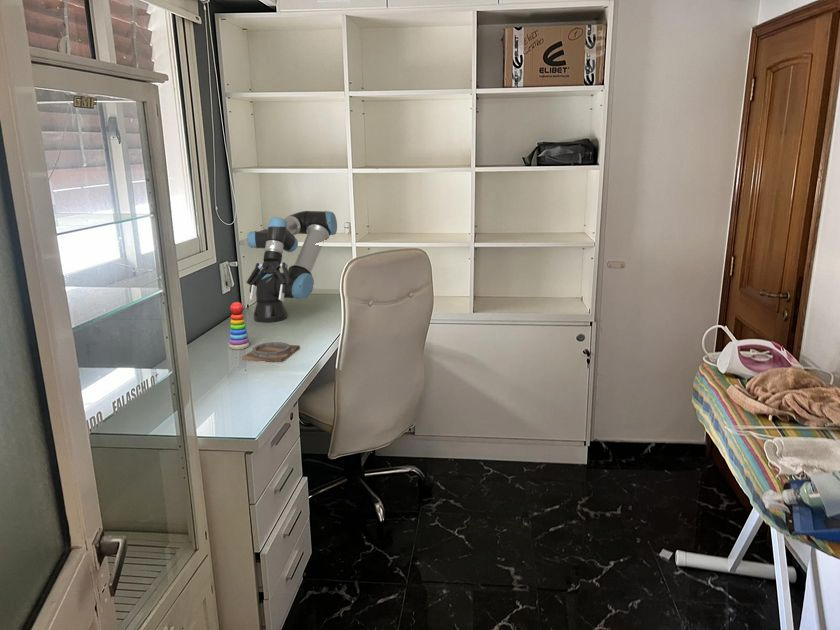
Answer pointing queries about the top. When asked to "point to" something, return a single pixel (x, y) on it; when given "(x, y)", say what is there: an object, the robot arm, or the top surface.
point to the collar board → (271, 359)
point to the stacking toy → (238, 328)
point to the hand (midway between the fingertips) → (266, 300)
